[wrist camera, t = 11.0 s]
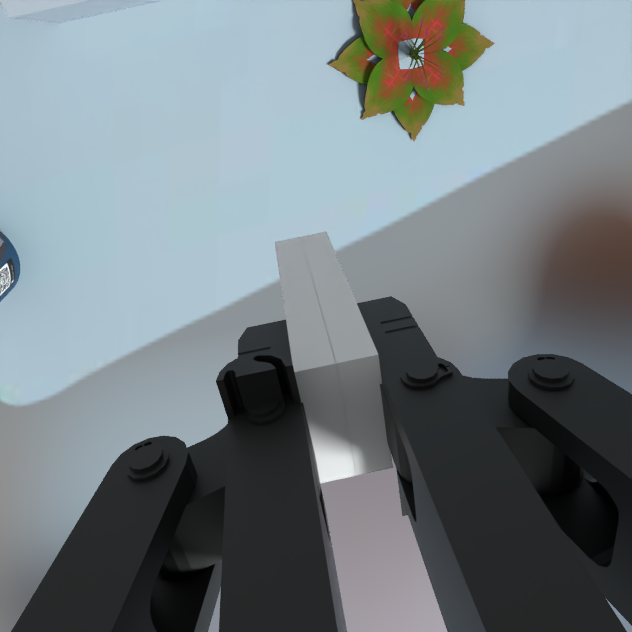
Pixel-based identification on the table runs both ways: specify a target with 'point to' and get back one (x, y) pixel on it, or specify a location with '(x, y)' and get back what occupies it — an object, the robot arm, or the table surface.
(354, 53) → the lily flower
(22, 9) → the white block
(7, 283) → the soda can
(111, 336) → the table surface
